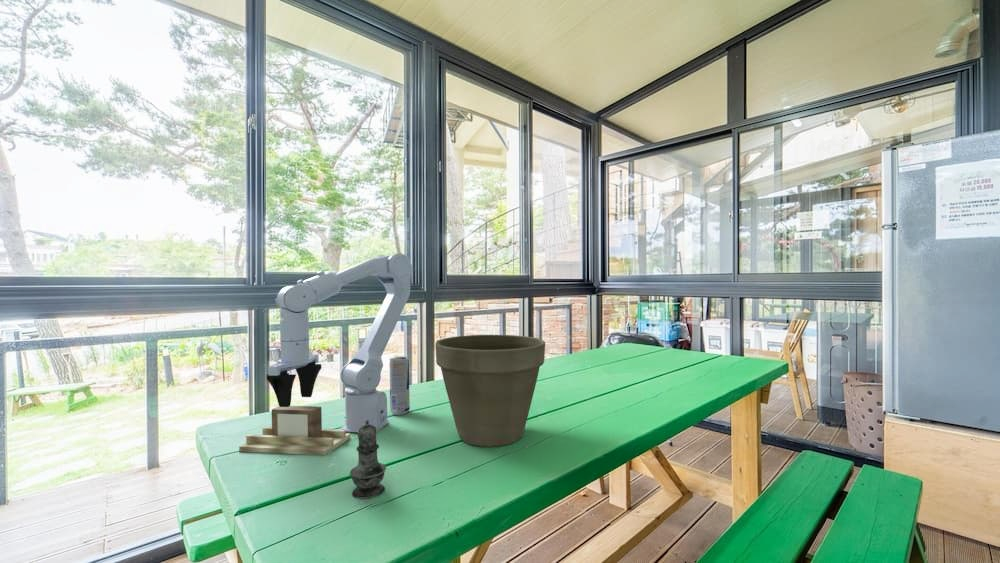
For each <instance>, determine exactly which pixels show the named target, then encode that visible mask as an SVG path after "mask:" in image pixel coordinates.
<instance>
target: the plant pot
mask: <svg viewBox="0 0 1000 563" xmlns="http://www.w3.org/2000/svg"><path fill="white" fill-rule="evenodd" d="M545 354H546V342H545V340H543V339H540V338H537V337H533V336H524V335H514V334H513V335H512V334H511V335H510V334H470V335H469V334H468V335H458V336H456V335H455V336H450V337H449V336H448V337H446V338H441V339H439V340H437V341H436V342H435V360H436V361H435V362H436V365H437V366H439V367H440V369H441V375H442V377H443V379H442V380H443V382H444V386H445V390H446V393H447V398H448V402H449V405H450V409H451V412H452V417H453V421H454V424H455V428H456V431H457V434H458V437H459V439H460V440H461V441H462V442H464V443H466V444H469V445H472V446H475V447H476V446H477V447H487V448H488V447H493V448H494V447H501V446H508V445H511V444H513V443H516V442H517V441H519V440H520V439H521V438H522V436H523V435H524V432H525V428H526V425H527V421H528V416H529V414H530V409H531V405H532V402H533V398H534V392H535V390H536V384H537V381H538V377H539V372H540V367H542V366H543V365H544V363H545Z"/></svg>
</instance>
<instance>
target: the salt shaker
mask: <svg viewBox="0 0 1000 563" xmlns="http://www.w3.org/2000/svg"><path fill="white" fill-rule="evenodd" d="M365 423H366V425H364V426H362V427H361V428H360V429H359V432H358V446H357V447H356V451H357V452H358V455H357V456H358V462H357V466H354V467H353V468H352V469H351V470H350V471H349V475H350V477H351V480H352V482H353V484H354V486H356V487H355V488H354V489H353V490H352V492H351V495H352V497H353V498H354V499H356V500H358V499H359V500H368V499H373V498H377V497H378V496H380V495H382V494H383V493H384V492H385V489H386V487H385V486H384V485H383V484H382V483H381V482H382V481H383V479H384V477H385V472H386V470H387V466H386V465H385V464H384V463H381V462H379V460H378V448H380V446H379V443H377V432H376V428H375V427H374V426H373V425H370V424H369V421H368V420H367V421H366V422H365Z"/></svg>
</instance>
